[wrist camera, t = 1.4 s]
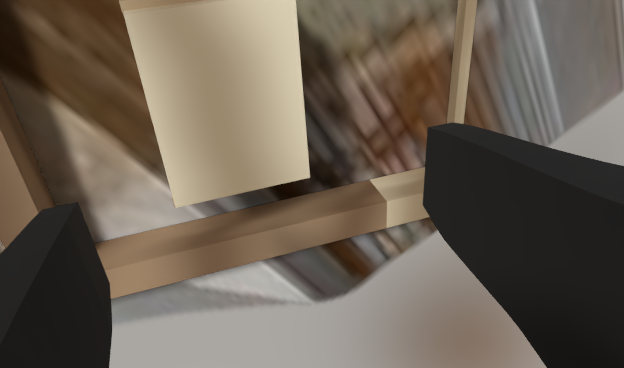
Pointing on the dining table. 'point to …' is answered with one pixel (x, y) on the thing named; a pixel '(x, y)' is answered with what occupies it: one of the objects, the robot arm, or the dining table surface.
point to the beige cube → (222, 92)
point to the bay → (238, 224)
